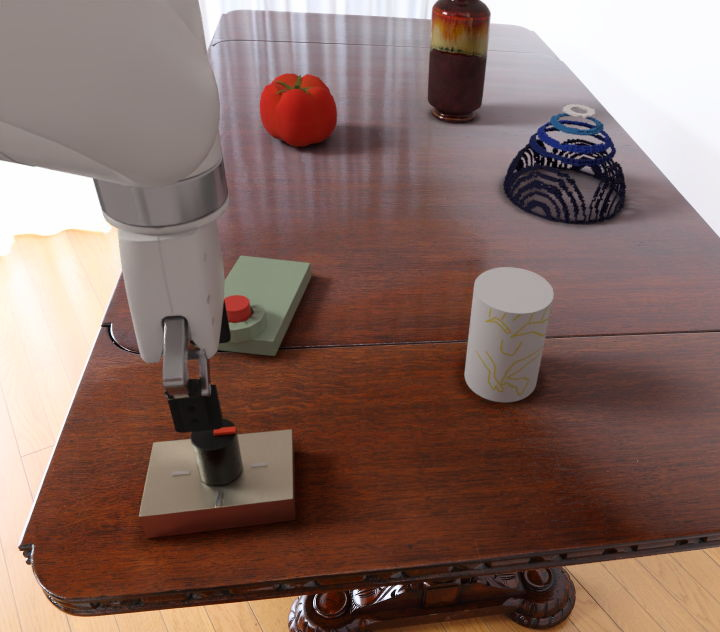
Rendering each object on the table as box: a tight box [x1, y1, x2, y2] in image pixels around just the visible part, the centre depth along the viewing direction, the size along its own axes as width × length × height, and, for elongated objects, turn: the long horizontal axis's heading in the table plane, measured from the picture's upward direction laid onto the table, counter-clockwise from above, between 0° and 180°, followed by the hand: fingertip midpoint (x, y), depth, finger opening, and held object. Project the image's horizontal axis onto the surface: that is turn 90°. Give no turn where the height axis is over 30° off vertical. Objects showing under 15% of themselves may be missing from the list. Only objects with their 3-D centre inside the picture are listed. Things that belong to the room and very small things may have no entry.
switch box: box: [193, 255, 312, 357], centre depth 80 cm, size 17×9×4 cm, turn 177°
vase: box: [427, 0, 492, 124], centre depth 130 cm, size 11×11×26 cm
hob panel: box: [138, 428, 296, 540], centre depth 60 cm, size 12×8×3 cm, turn 103°
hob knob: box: [190, 418, 243, 485], centre depth 57 cm, size 4×4×5 cm
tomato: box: [259, 73, 338, 148], centre depth 119 cm, size 14×13×10 cm
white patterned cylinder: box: [464, 266, 555, 403], centre depth 73 cm, size 8×8×12 cm
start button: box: [224, 295, 251, 323], centre depth 74 cm, size 3×3×2 cm
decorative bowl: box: [502, 103, 627, 225], centre depth 110 cm, size 20×20×14 cm
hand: (206, 381), depth 53 cm, fingers open, 9 cm apart
